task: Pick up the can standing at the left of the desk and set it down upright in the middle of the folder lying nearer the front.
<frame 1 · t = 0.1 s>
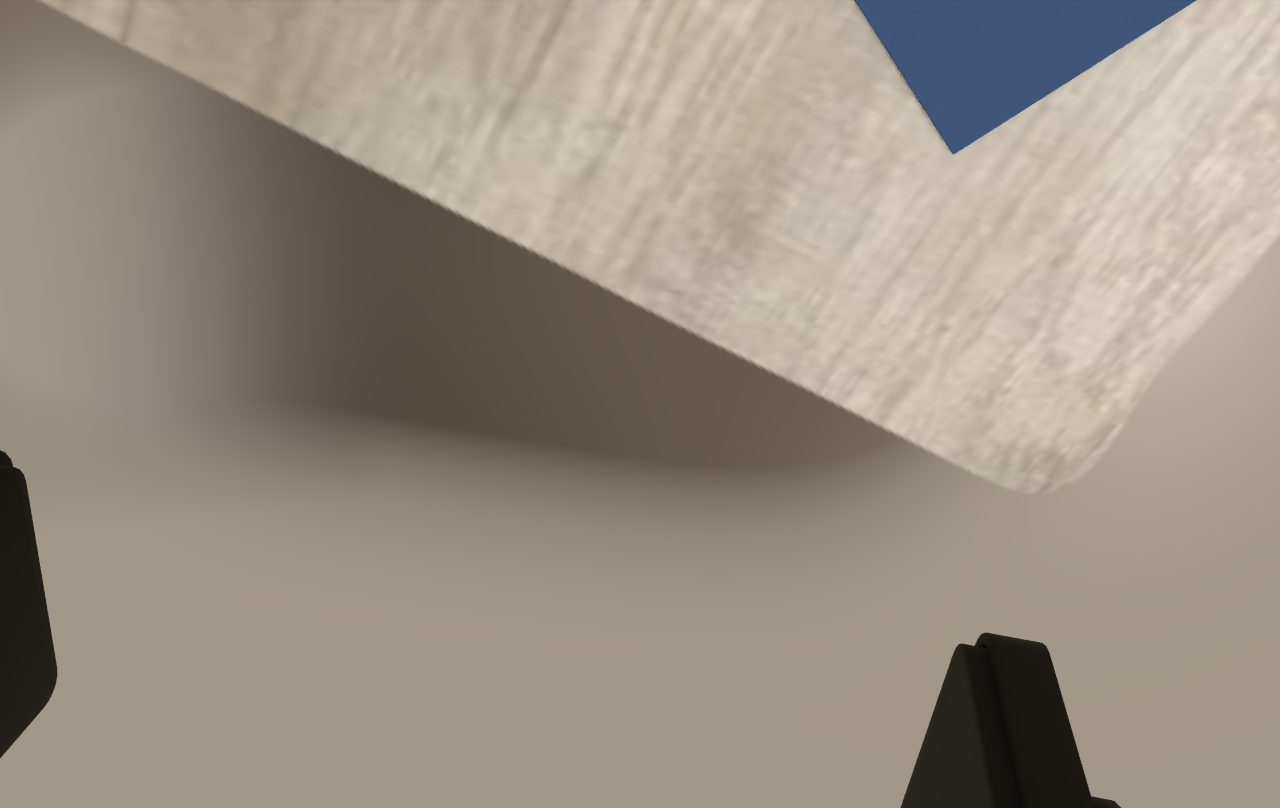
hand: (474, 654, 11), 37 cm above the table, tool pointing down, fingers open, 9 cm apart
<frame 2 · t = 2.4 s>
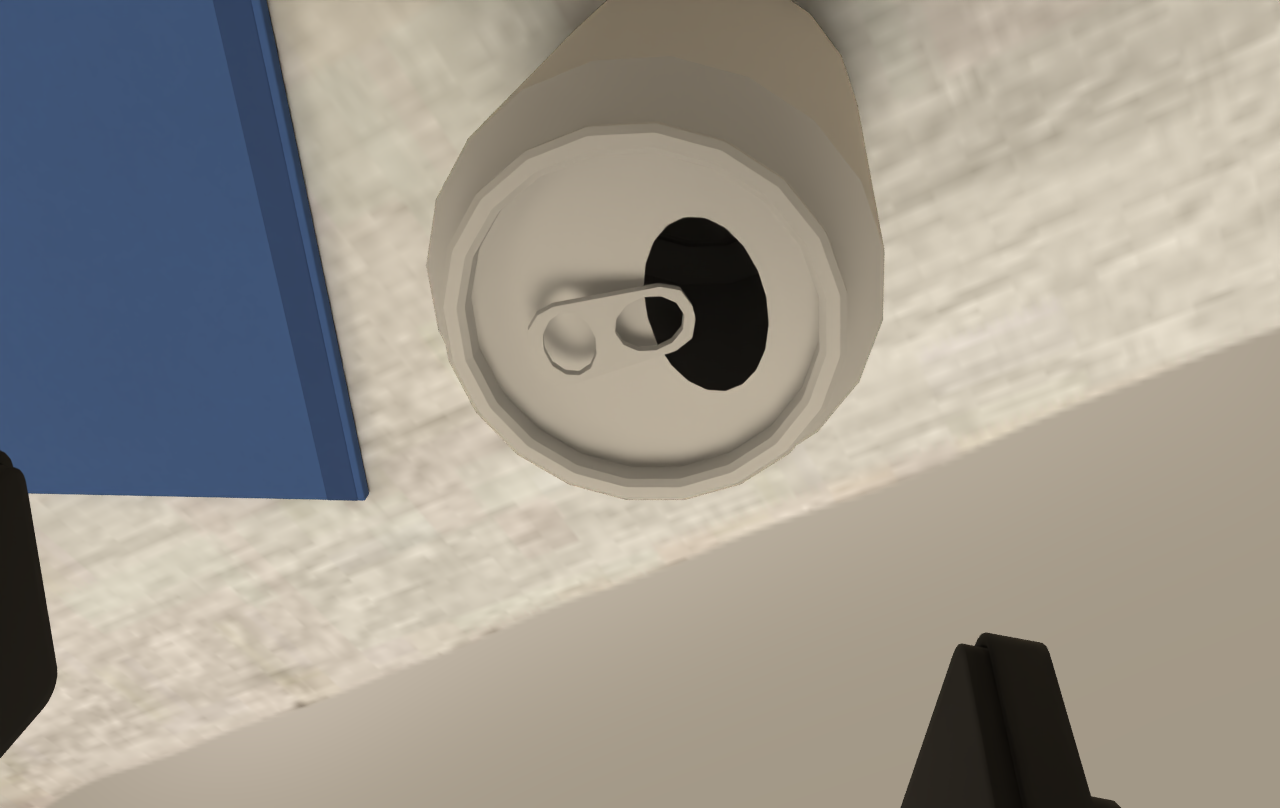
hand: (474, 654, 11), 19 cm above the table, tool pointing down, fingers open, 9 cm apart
folder: (22, 176, 30), on the table
can: (701, 126, 27), on the table
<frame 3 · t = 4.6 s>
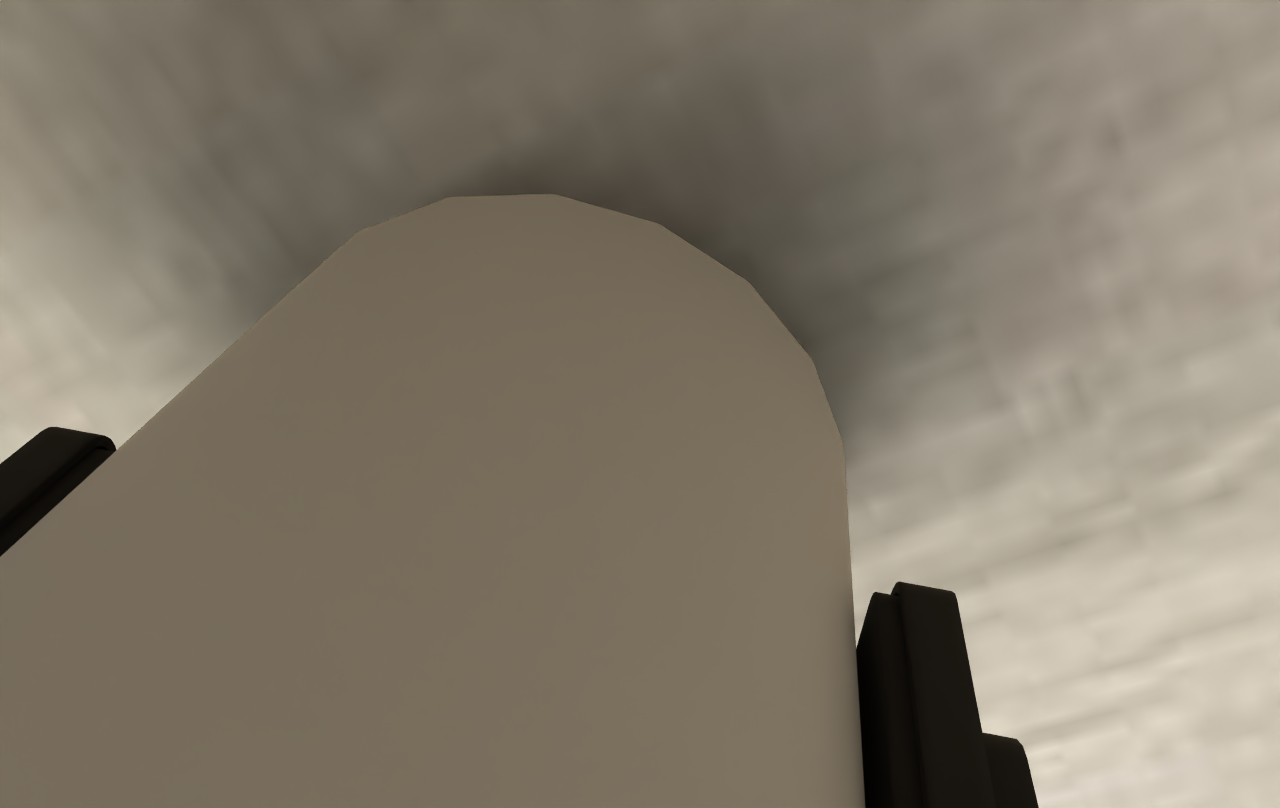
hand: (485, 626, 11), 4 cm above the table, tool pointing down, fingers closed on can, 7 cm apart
can: (556, 442, 15), on the table, touching gripper
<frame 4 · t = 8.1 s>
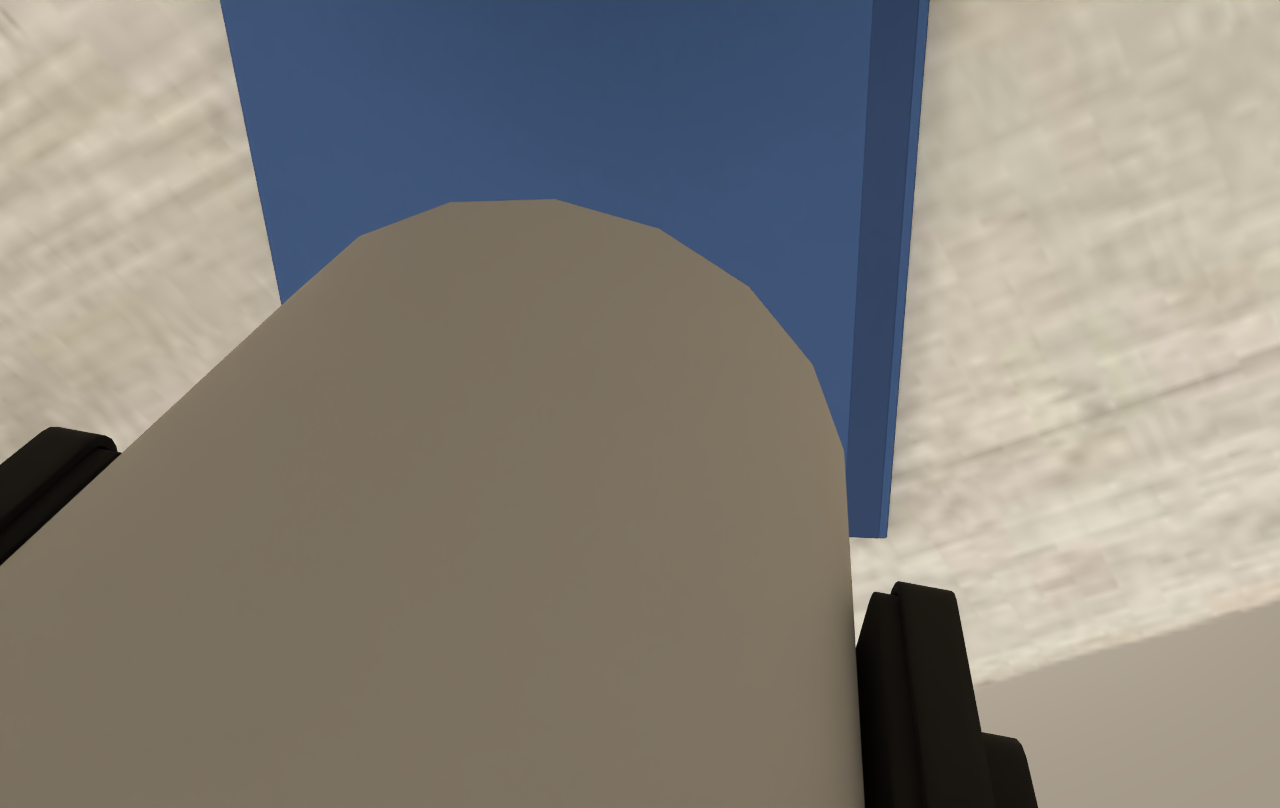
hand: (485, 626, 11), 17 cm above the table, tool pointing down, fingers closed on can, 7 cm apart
folder: (574, 170, 27), on the table
can: (557, 446, 15), point 13 cm above the table, touching gripper
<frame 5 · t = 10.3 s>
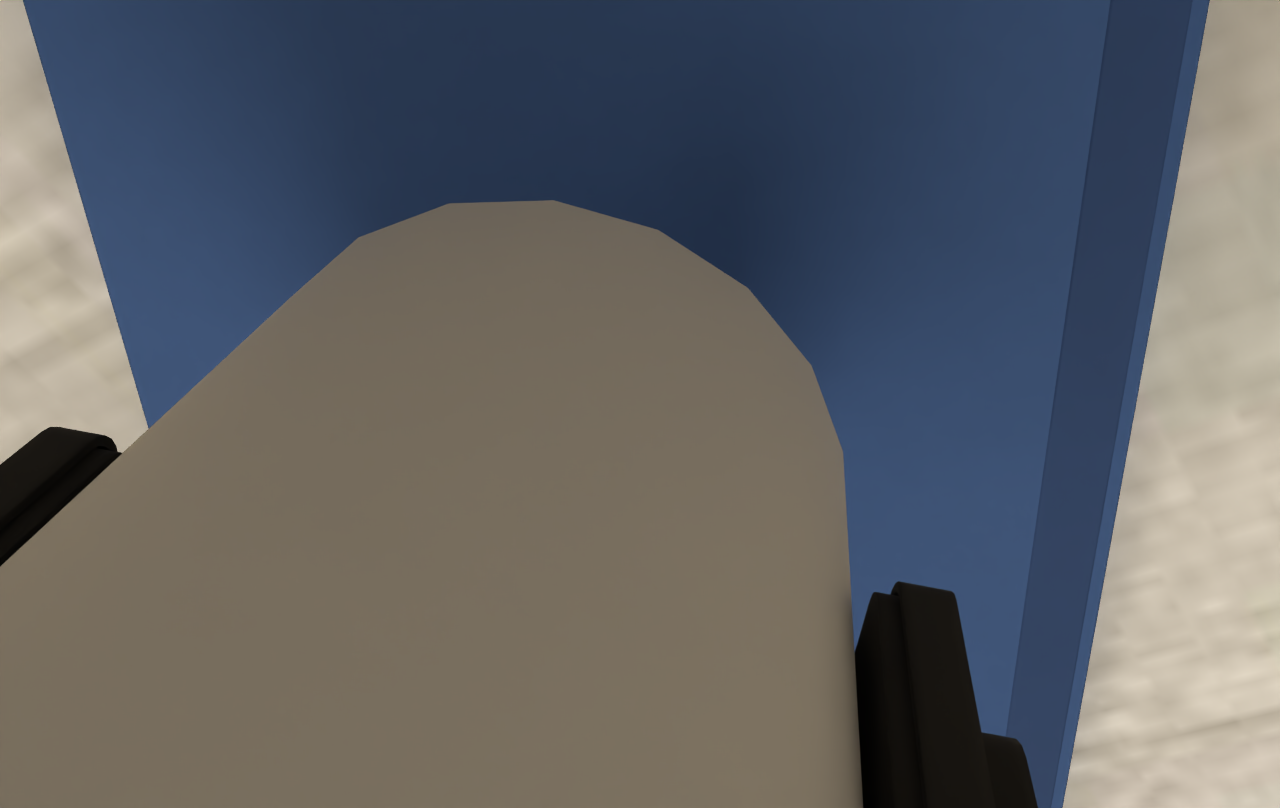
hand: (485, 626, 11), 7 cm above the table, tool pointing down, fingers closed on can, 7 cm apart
folder: (603, 332, 17), on the table
can: (556, 447, 15), point 3 cm above the table, touching gripper
when the fingers open (4 cm above the table, at t = 11.7 s): can stays where it is, resting on folder.
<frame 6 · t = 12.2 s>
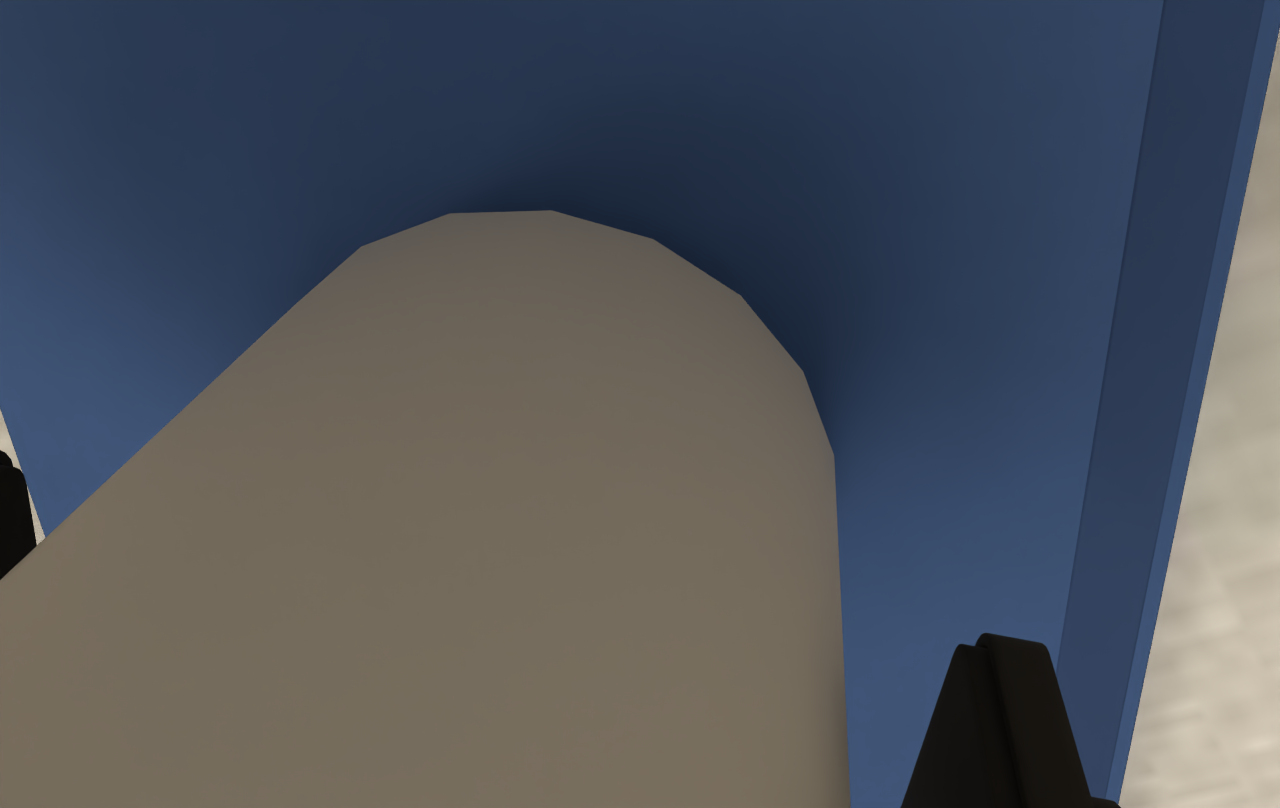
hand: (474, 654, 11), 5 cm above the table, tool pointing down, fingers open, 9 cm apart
folder: (560, 437, 15), on the table
can: (554, 451, 15), resting on folder
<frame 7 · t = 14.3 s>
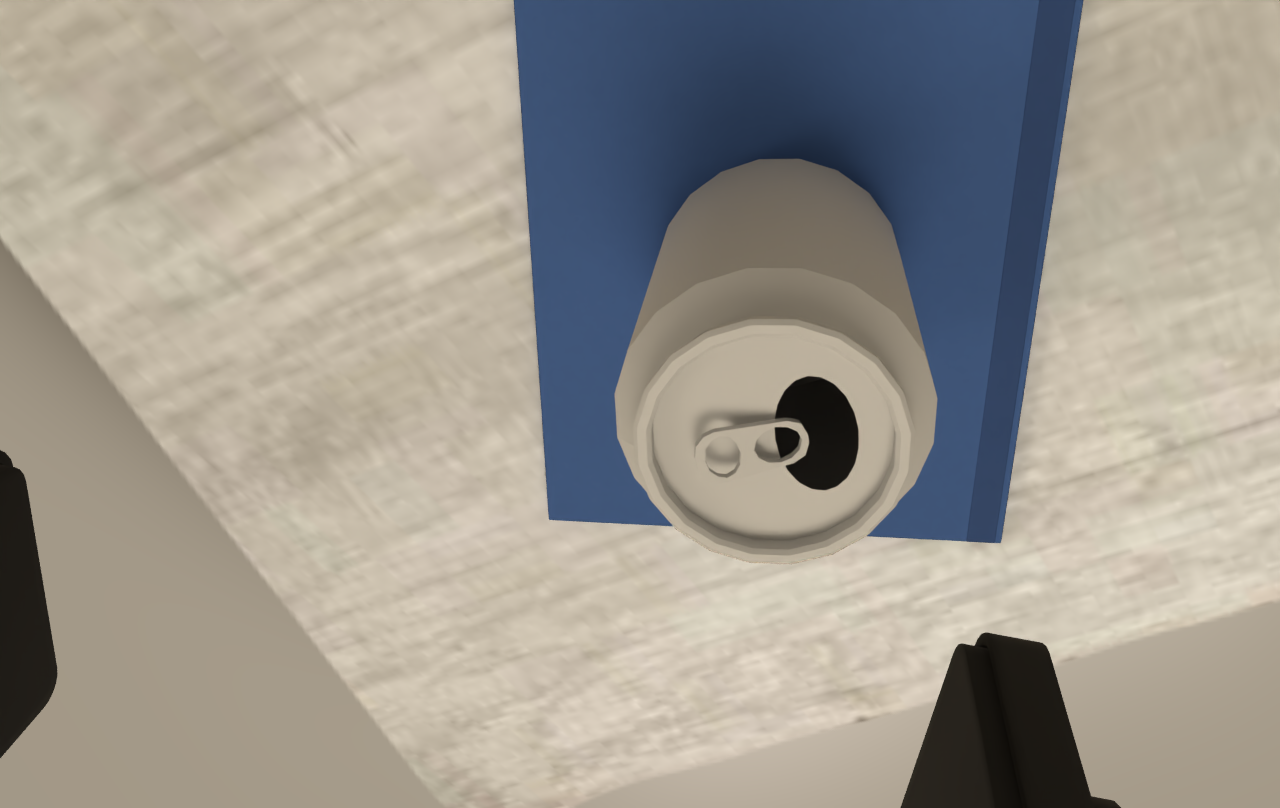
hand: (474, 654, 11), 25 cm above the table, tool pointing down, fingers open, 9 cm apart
folder: (779, 260, 35), on the table
can: (778, 266, 35), resting on folder
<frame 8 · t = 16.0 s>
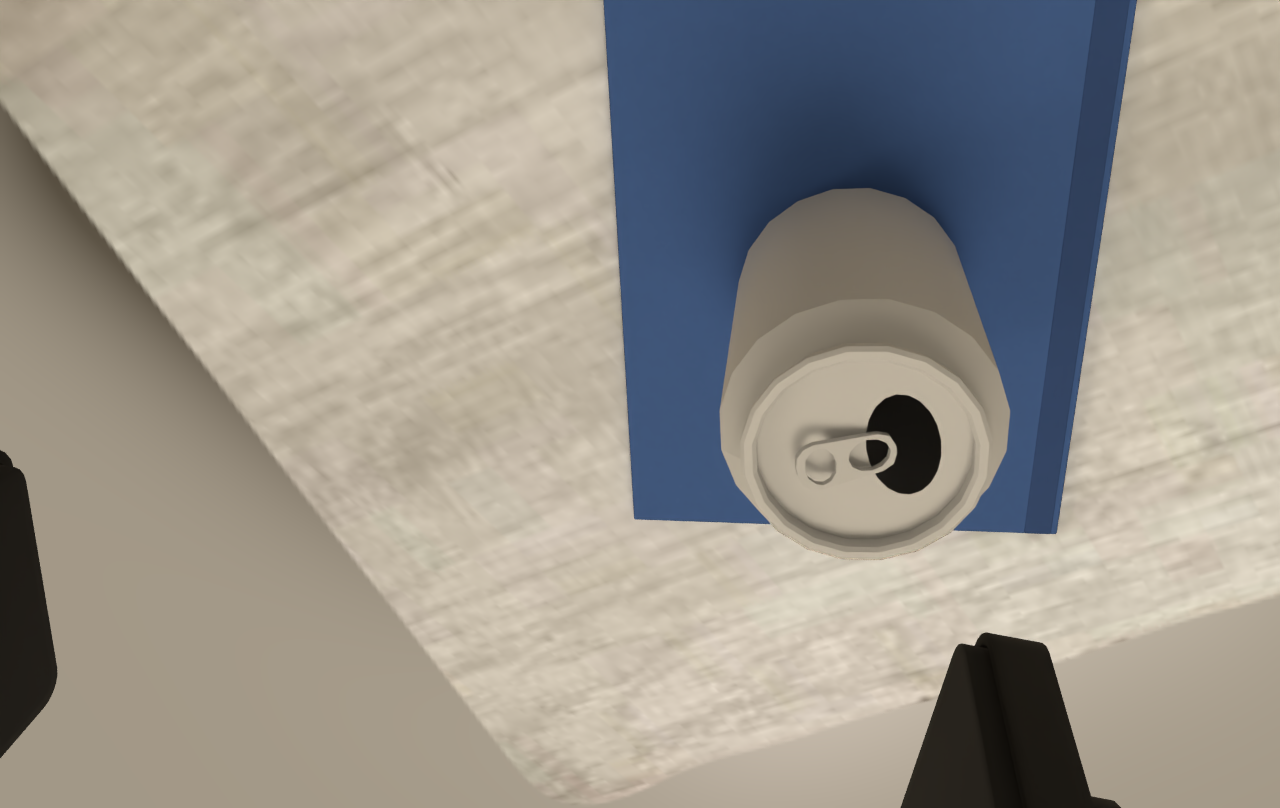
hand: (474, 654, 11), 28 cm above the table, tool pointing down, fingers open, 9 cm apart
folder: (849, 279, 38), on the table
can: (848, 284, 38), resting on folder
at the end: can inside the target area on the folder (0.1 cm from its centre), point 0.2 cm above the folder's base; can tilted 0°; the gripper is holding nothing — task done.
